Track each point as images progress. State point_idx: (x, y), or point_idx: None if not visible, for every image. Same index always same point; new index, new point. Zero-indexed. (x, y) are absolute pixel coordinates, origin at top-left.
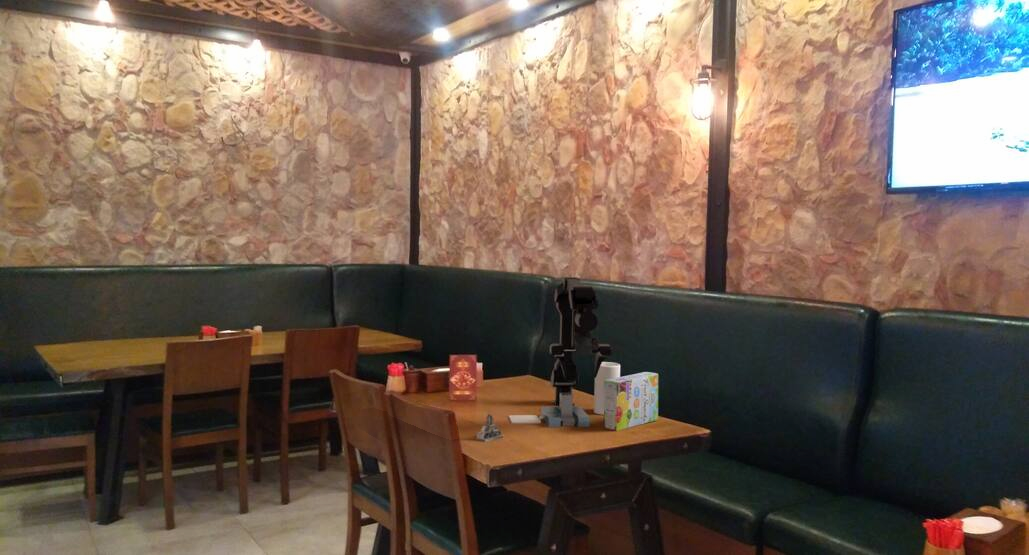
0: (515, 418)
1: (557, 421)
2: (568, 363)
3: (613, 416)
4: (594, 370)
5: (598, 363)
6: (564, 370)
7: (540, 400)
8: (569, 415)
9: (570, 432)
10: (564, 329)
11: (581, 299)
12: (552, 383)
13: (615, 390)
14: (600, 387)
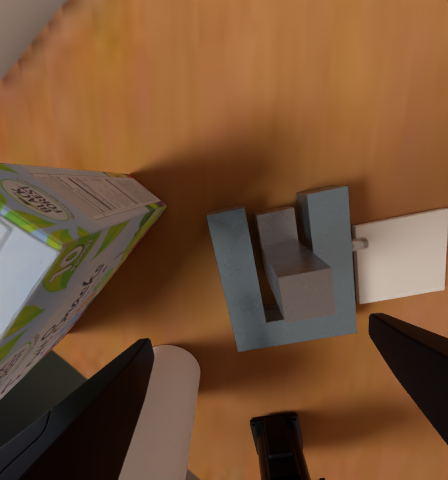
0: (429, 257)
1: (312, 191)
2: None
3: (117, 180)
4: (134, 412)
5: (8, 469)
6: (443, 345)
7: (331, 453)
8: (272, 246)
9: (267, 135)
10: None
11: None
12: None
13: (16, 169)
14: (163, 428)
